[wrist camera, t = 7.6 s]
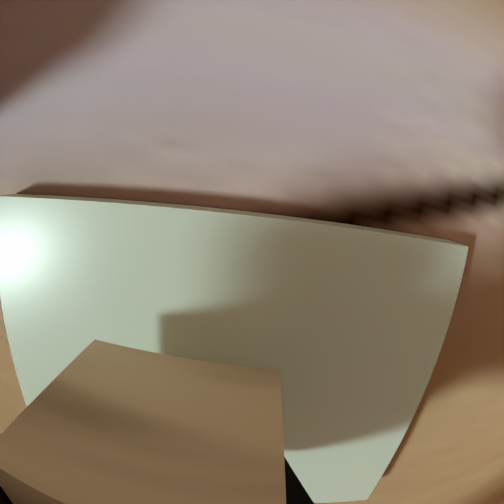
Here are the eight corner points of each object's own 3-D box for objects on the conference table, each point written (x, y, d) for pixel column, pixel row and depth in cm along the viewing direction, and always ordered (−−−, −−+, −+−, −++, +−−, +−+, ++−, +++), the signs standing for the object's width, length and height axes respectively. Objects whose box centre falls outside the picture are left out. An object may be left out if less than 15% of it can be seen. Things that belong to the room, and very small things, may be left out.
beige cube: (256, 483, 9) (249, 608, 4) (115, 456, 9) (63, 561, 4) (279, 370, 8) (287, 551, 3) (94, 339, 8) (-19, 456, 3)
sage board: (362, 482, 12) (366, 499, 11) (51, 431, 12) (41, 444, 11) (449, 240, 9) (468, 246, 8) (14, 193, 10) (-6, 196, 8)
